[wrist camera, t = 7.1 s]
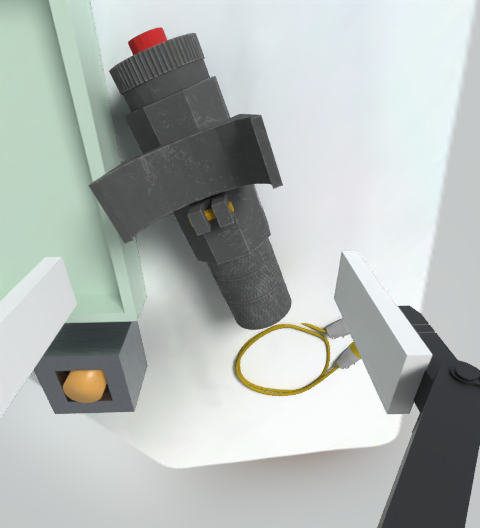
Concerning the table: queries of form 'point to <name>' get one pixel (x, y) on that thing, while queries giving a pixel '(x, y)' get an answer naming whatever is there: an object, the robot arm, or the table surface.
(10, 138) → the tray
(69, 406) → the grey square holder
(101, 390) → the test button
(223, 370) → the table surface
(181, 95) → the laser sight
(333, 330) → the extension cord
